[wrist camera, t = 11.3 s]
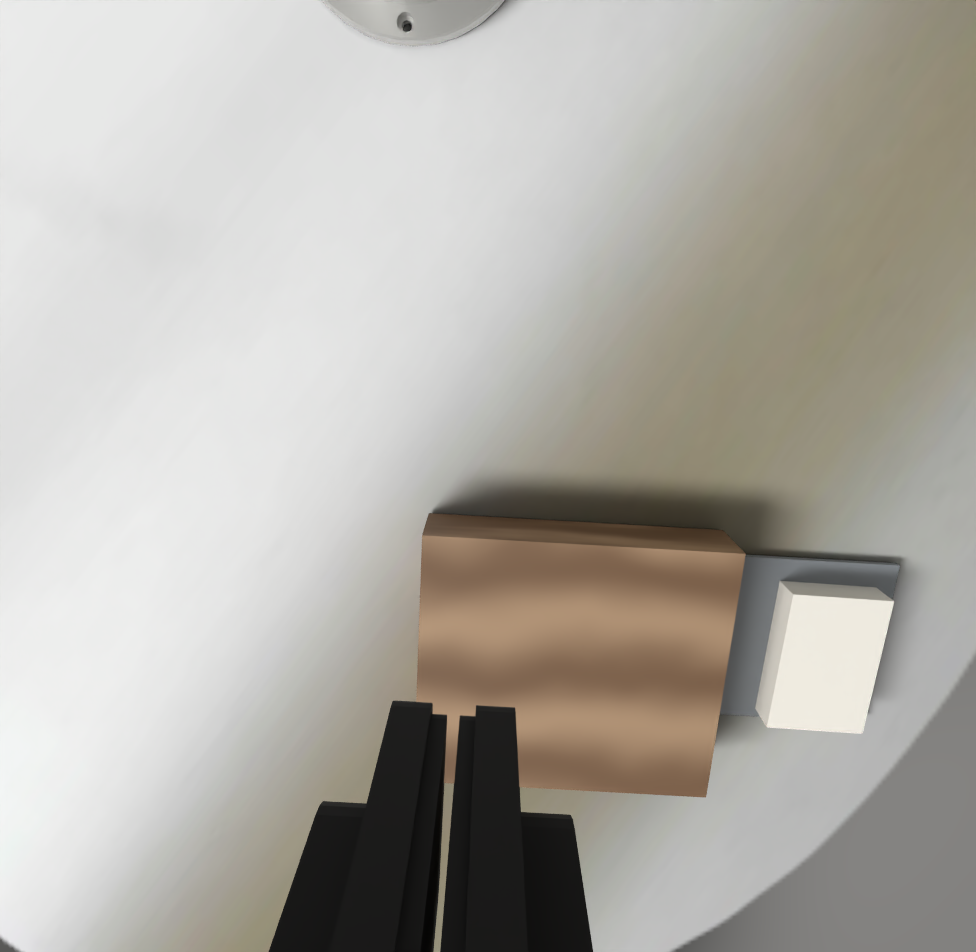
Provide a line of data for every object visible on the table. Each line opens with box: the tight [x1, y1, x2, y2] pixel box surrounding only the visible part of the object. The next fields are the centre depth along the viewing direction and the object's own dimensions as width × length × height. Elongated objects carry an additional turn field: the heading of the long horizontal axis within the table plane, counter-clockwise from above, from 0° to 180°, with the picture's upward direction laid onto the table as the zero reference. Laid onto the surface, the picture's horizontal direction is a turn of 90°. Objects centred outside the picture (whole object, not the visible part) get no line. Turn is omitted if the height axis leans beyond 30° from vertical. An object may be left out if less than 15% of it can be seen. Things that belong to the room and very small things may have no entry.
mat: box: [720, 555, 900, 717], centre depth 44 cm, size 11×11×1 cm
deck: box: [416, 513, 746, 797], centre depth 42 cm, size 16×18×4 cm
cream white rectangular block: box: [755, 581, 894, 734], centre depth 43 cm, size 9×6×2 cm, turn 176°
